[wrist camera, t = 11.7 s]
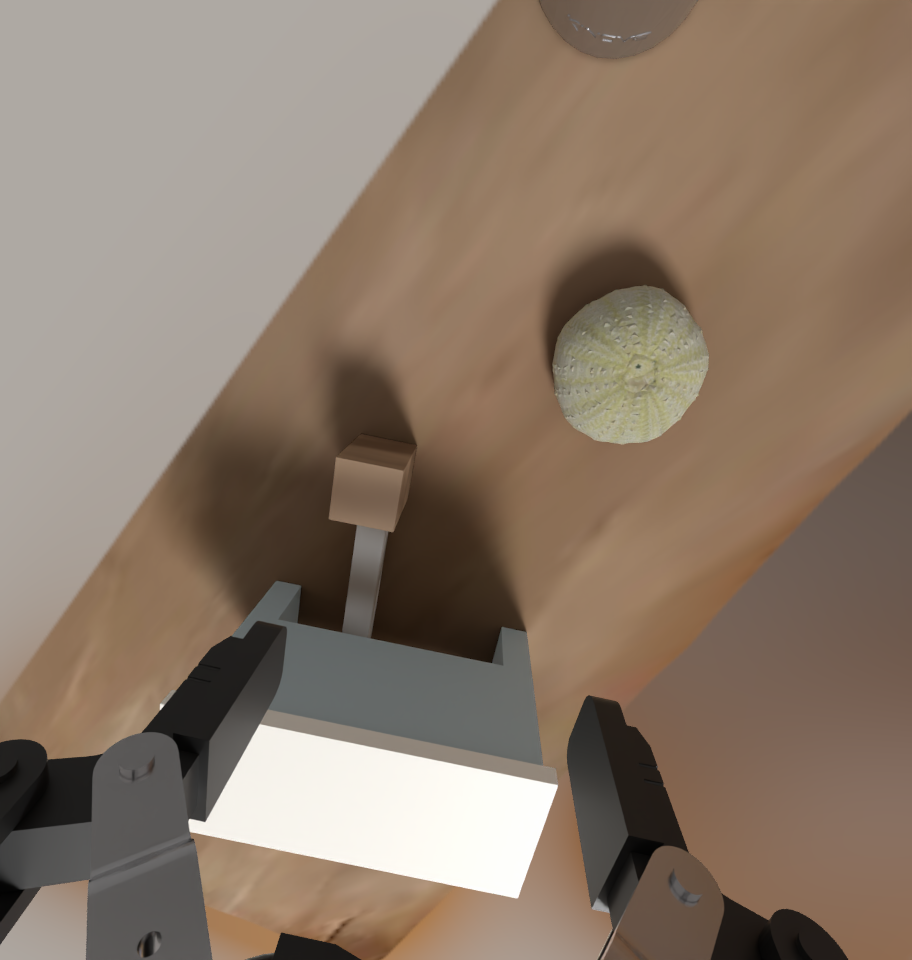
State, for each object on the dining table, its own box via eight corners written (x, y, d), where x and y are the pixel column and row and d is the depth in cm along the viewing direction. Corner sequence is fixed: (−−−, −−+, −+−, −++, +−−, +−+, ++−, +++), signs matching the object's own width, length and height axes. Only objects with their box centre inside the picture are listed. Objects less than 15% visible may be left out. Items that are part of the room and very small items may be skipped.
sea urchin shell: (535, 443, 32) (567, 362, 24) (544, 350, 35) (574, 256, 28) (675, 466, 31) (749, 392, 24) (670, 371, 35) (733, 281, 28)
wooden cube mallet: (361, 433, 34) (336, 457, 28) (417, 445, 34) (403, 470, 28) (334, 629, 39) (309, 682, 34) (383, 639, 39) (366, 694, 34)
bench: (270, 573, 38) (160, 703, 25) (534, 628, 38) (557, 785, 25) (263, 666, 41) (160, 825, 28) (508, 716, 41) (517, 898, 28)
